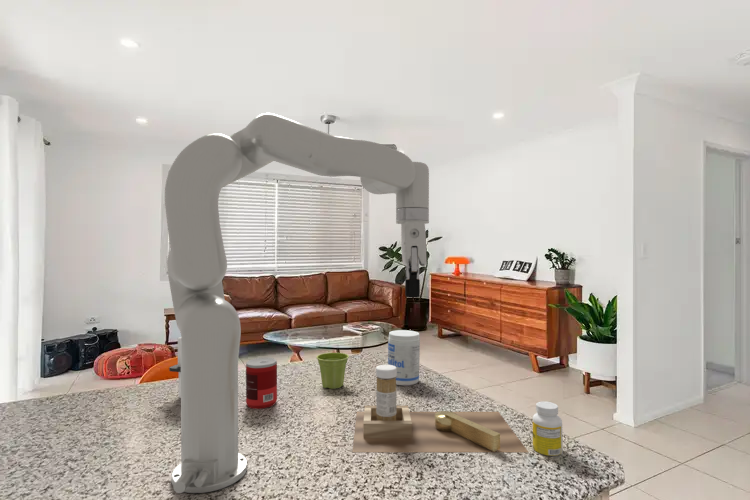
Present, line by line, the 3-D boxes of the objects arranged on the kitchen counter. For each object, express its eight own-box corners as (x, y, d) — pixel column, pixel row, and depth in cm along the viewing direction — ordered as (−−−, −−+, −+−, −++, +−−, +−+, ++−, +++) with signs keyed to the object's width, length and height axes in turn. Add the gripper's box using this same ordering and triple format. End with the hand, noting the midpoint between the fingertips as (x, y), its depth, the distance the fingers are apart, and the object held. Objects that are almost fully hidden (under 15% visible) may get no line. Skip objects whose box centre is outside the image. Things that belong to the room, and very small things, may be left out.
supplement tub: (382, 383, 125) (382, 334, 125) (395, 374, 134) (395, 328, 134) (412, 388, 121) (412, 337, 121) (424, 379, 129) (424, 331, 129)
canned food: (281, 398, 113) (280, 357, 113) (270, 410, 105) (270, 366, 105) (253, 397, 114) (253, 356, 114) (241, 408, 106) (240, 365, 106)
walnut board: (528, 457, 81) (528, 451, 81) (352, 457, 81) (352, 451, 81) (498, 415, 101) (498, 411, 101) (356, 415, 101) (356, 411, 101)
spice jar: (389, 422, 95) (389, 362, 95) (400, 430, 91) (400, 367, 91) (372, 426, 93) (372, 365, 93) (382, 434, 89) (382, 370, 89)
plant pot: (312, 383, 126) (312, 354, 126) (342, 379, 130) (342, 350, 130) (322, 393, 117) (322, 362, 117) (353, 388, 121) (353, 358, 121)
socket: (411, 438, 87) (411, 423, 87) (363, 438, 87) (363, 423, 87) (408, 418, 97) (408, 405, 97) (364, 418, 97) (364, 405, 97)
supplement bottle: (537, 445, 86) (537, 397, 86) (565, 454, 83) (566, 404, 83) (528, 455, 82) (528, 405, 82) (557, 465, 79) (557, 412, 79)
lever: (488, 454, 80) (488, 438, 80) (430, 425, 93) (430, 411, 93) (505, 446, 83) (505, 431, 83) (446, 419, 96) (446, 406, 96)
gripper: (433, 214, 90) (433, 301, 90) (424, 219, 105) (424, 293, 105) (397, 214, 90) (397, 301, 90) (394, 219, 105) (394, 293, 105)
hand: (412, 296), depth 97 cm, fingers closed
